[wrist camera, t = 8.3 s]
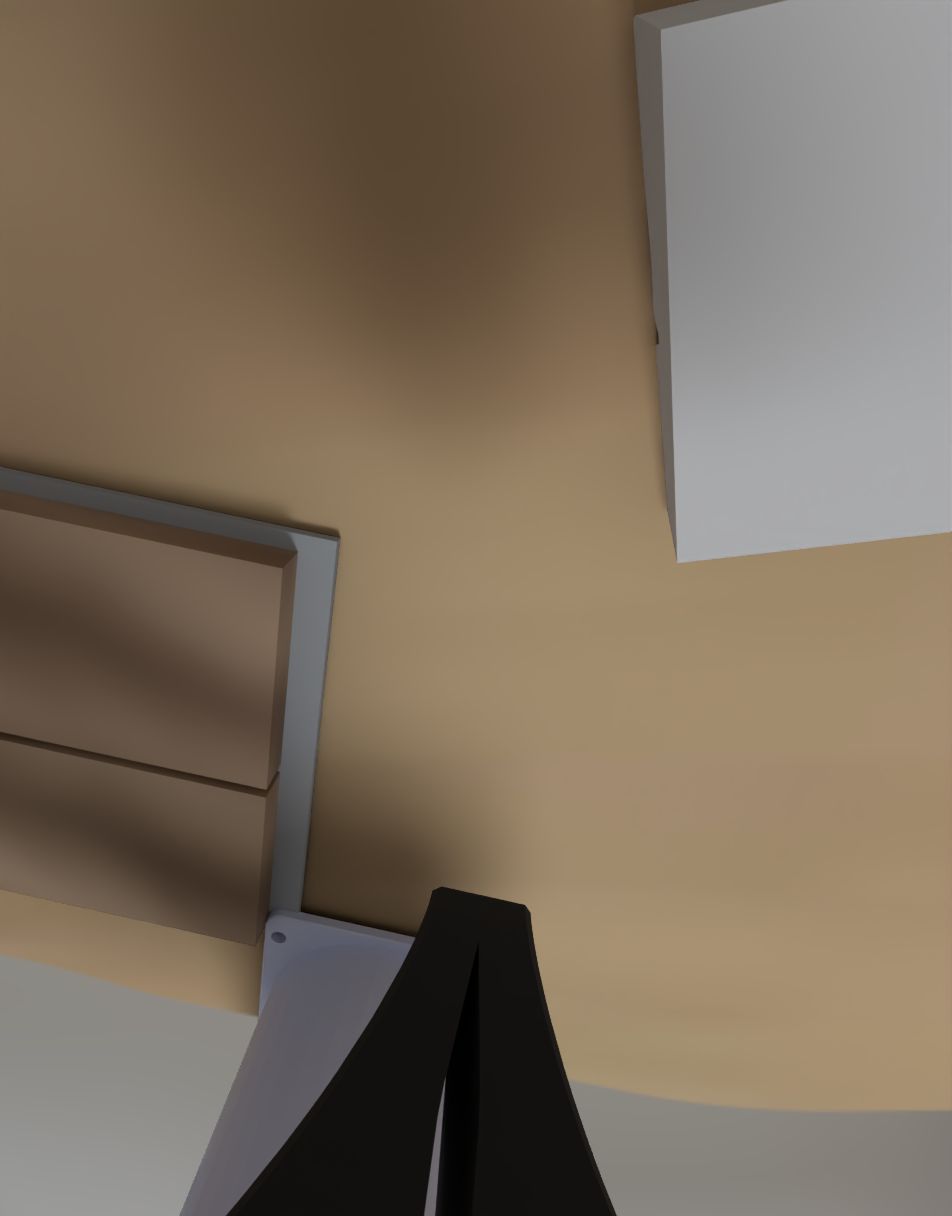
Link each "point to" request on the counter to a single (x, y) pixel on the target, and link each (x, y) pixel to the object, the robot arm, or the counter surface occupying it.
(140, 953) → the counter surface
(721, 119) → the decorative molding
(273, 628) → the board
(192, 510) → the plate
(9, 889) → the laid plank
